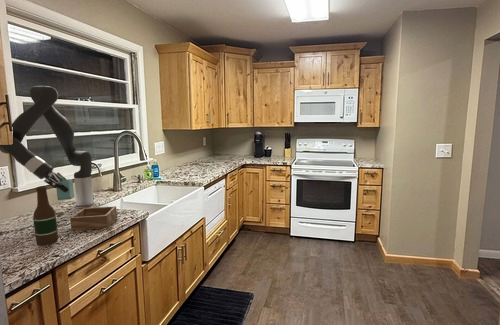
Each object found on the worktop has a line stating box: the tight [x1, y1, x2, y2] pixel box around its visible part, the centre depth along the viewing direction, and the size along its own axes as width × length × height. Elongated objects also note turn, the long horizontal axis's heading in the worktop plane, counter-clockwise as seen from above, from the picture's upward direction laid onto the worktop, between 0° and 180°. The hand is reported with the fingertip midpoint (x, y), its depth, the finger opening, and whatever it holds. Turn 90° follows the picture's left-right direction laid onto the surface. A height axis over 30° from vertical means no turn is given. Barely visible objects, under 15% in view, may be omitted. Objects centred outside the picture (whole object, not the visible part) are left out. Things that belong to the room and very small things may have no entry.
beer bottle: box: [32, 185, 59, 247], centre depth 121 cm, size 8×8×24 cm
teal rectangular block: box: [55, 178, 75, 201], centre depth 144 cm, size 6×6×9 cm
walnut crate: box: [69, 205, 118, 231], centre depth 145 cm, size 16×16×6 cm
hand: (69, 189), depth 145 cm, fingers closed on teal rectangular block, 5 cm apart
